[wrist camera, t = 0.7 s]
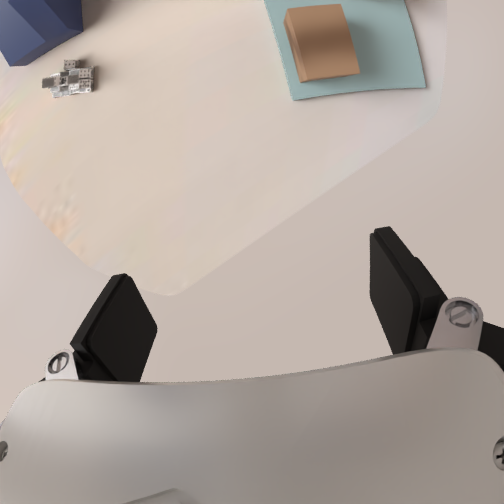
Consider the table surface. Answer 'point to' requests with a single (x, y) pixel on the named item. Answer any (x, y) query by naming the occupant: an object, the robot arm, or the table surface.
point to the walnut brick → (320, 42)
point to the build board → (359, 47)
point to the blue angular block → (36, 27)
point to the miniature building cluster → (70, 80)
